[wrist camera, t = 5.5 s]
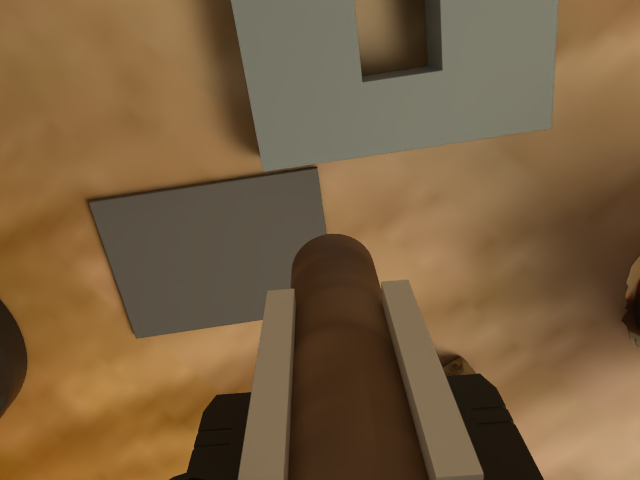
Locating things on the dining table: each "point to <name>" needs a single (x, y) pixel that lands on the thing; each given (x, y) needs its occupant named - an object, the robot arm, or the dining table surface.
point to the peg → (346, 372)
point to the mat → (208, 248)
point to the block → (393, 78)
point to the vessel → (633, 302)
